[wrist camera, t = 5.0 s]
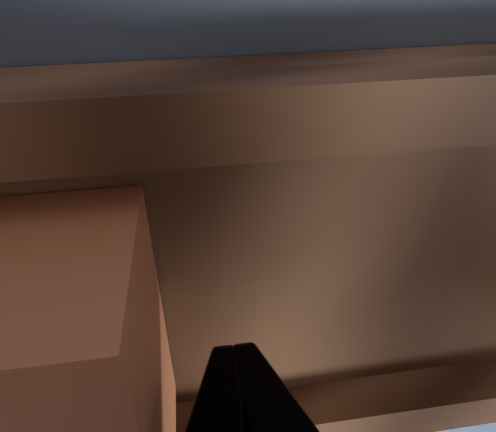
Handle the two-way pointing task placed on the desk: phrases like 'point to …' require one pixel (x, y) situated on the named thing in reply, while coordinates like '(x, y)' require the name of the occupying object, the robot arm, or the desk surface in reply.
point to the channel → (297, 214)
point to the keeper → (82, 315)
